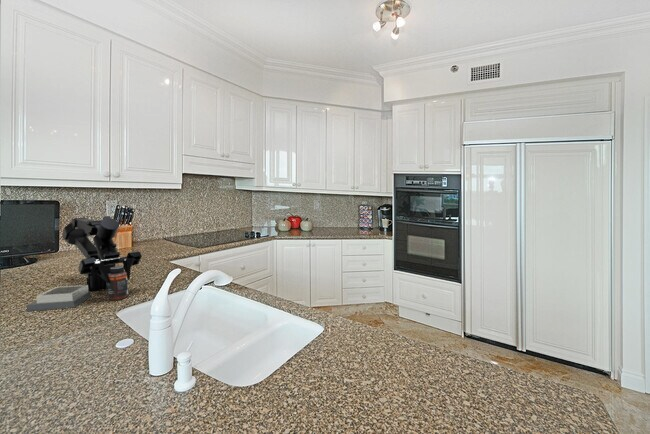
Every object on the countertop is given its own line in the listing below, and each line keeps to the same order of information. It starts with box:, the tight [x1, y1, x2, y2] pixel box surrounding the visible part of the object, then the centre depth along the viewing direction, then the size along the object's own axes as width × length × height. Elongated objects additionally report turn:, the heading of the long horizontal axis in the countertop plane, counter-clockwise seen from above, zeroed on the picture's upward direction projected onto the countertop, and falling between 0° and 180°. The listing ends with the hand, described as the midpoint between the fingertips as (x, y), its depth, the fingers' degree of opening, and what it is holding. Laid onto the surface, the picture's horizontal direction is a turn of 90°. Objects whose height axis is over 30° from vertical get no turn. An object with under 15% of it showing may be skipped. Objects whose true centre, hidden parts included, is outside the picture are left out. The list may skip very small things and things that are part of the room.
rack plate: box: [26, 284, 92, 312], centre depth 104 cm, size 13×11×4 cm
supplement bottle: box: [107, 265, 129, 301], centre depth 109 cm, size 6×6×11 cm
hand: (119, 280), depth 108 cm, fingers closed on supplement bottle, 6 cm apart
